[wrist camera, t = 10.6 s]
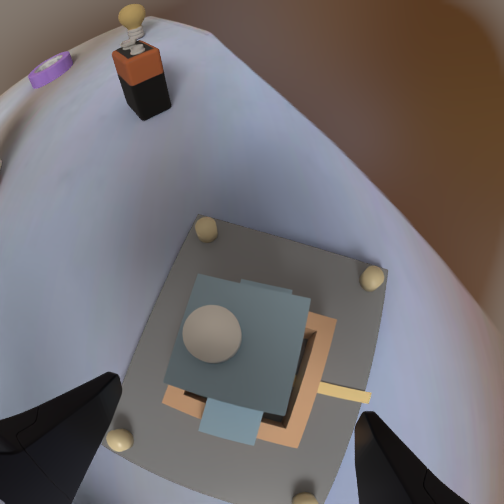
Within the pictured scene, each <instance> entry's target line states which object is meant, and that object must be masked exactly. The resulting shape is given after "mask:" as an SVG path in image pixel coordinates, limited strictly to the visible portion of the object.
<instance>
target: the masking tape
mask: <svg viewBox="0 0 504 504" xmlns="http://www.w3.org/2000/svg"><path fill="white" fill-rule="evenodd" d="M72 65H73V62H72V59H71V56H70V53H69V52H68V51H67V52H62V53H60V54H57V55H55V56H53V57H51V58H49V59H48V60H46V61H44V62H43V63H41V64H40V65H39V66H37V67H36V68H35V69H34V70H33V71H32V72H31V73H30V74H29V75H28V78H29V80H30V82H31V84H32V86H33V88H39V87H42V86H44V85H46V84H48V83H50V82H51V81H53V80H55V79H56V78H58V77H59V76H61V75H62V74H63V73H65V72H66V71H67V70H68V69H69V68H70V67H71V66H72Z"/></svg>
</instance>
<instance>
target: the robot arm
mask: <svg viewBox="0 0 504 504" xmlns="http://www.w3.org/2000/svg"><path fill="white" fill-rule="evenodd" d="M121 395H122V386H121V382H120V377H119V375H118V374H115V373H112V372H106V373H104V374H102V375H100V376H98V377H97V378H95V379H93V380H91V381H89V382H87V383H85V384H83V385H81V386H78V387H76V388H74V389H72V390H70V391H68V392H66V393H64V394H62V395H60V396H58V397H56V398H54V399H52V400H50V401H47V402H45V403H43V404H41V405H39V406H37V407H34V408H32V409H30V410H28V411H25V412H23V413H20V414H18V415H15V416H12V417H9V418H5V419H2V420H0V504H71V503H72V501H73V499H74V497H75V494H76V492H77V490H78V488H79V486H80V484H81V482H82V480H83V478H84V476H85V474H86V472H87V470H88V468H89V465H90V463H91V461H92V459H93V457H94V455H95V454H96V452H97V450H98V448H99V446H100V444H101V442H102V440H103V438H104V436H105V434H106V432H107V430H108V428H109V426H110V424H111V421H112V419H113V416H114V414H115V411H116V408H117V406H118V403H119V400H120V398H121ZM355 469H356V477H357V486H358V496H359V504H469V503H468V502H466V501H465V500H464V499H462V498H461V497H460V496H458V495H457V494H456V493H455V492H453V491H452V490H451V489H449V488H448V487H447V486H446V485H445V484H444V483H442V482H441V481H440V480H439V479H438V478H437V477H436V476H435V475H434V474H433V473H432V472H431V471H430V470H429V469H427V467H426V466H425V465H424V464H423V463H422V462H421V461H420V460H419V459H418V457H417V456H416V455H415V454H414V453H413V452H412V451H411V450H410V449H409V448H408V447H407V446H406V445H405V444H404V443H403V442H402V441H401V440H400V439H399V437H398V436H397V435H396V434H395V433H394V432H393V431H392V430H391V429H390V428H389V427H388V426H387V425H386V424H385V423H384V421H383V420H382V419H381V418H380V417H379V416H378V415H377V414H376V413H375V412H374V411H364V412H363V413H362V414H361V416H360V418H359V420H358V421H357V423H356V425H355Z"/></svg>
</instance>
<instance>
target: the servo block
mask: <svg viewBox="0 0 504 504" xmlns="http://www.w3.org/2000/svg"><path fill="white" fill-rule="evenodd" d="M310 302H311V298H306V297H301V296H296V295H292V290H290V289H286V288H281V287H276V286H272V285H267V284H262V283H258V282H253V281H249V280H244V279H241V282H240V283H237V282H233V281H228V280H224V279H220V278H215V277H211V276H207V275H203V274H199V273H198V275H197V278H196V280H195V283H194V286H193V289H192V292H191V295H190V298H189V301H188V304H187V307H186V310H185V313H184V316H183V319H182V322H181V325H180V329H179V332H178V335H177V338H176V341H175V344H174V347H173V351H172V354H171V357H170V360H169V364H168V367H167V370H166V374H165V377H164V380H163V383H165V384H168V385H171V386H174V387H177V388H180V389H183V390H186V391H189V392H192V393H195V394H198V395H201V396H205V397H208V398H207V401H206V405H205V408H204V412H203V415H202V419H201V423H200V426H199V430H198V431H200V432H203V433H207V434H210V435H213V436H217V437H220V438H224V439H228V440H232V441H236V442H240V443H244V444H248V445H252V446H254V444H255V441H256V437H257V434H258V430H259V426H260V423H261V419H262V416H263V412H267V413H271V414H276V415H281V416H285V414H286V410H287V406H288V402H289V398H290V394H291V390H292V386H293V382H294V378H295V373H296V369H297V365H298V360H299V356H300V351H301V347H302V342H303V337H304V332H305V327H306V322H307V317H308V312H309V307H310Z"/></svg>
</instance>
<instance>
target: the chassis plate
mask: <svg viewBox="0 0 504 504" xmlns="http://www.w3.org/2000/svg"><path fill="white" fill-rule="evenodd" d="M198 273H199V274H203V275H207V276H211V277H215V278H220V279H224V280H228V281H233V282H237V283H240V282H241V279H244V280H249V281H253V282H258V283H262V284H267V285H272V286H276V287H281V288H286V289H290V290H292V295H296V296H301V297H306V298H311V302H310V307H309V312H308V317H307V322H306V327H305V332H304V337H303V342H302V347H301V351H300V356H299V360H298V365H297V369H296V373H295V378H294V382H293V386H292V390H291V394H290V398H289V402H288V406H287V410H286V414H285V416H281V415H276V414H271V413H267V412H263V416H262V419H261V423H260V426H259V430H258V434H257V437H256V441H255V444H254V446H252V445H248V444H244V443H240V442H236V441H232V440H228V439H224V438H220V437H217V436H213V435H210V434H207V433H203V432H200V431H198V430H199V426H200V423H201V419H202V415H203V412H204V408H205V405H206V401H207V398H208V397H205V396H201V395H198V394H195V393H192V392H189V391H186V390H183V389H180V388H177V387H174V386H171V385H168V384H165V383H163V380H164V377H165V374H166V370H167V367H168V364H169V360H170V357H171V354H172V351H173V347H174V344H175V341H176V338H177V335H178V332H179V329H180V325H181V322H182V319H183V316H184V313H185V310H186V307H187V304H188V301H189V298H190V295H191V292H192V289H193V286H194V283H195V280H196V278H197V275H198ZM387 275H388V270H387V269H384V268H380V267H377V266H374V265H371V264H368V263H364V262H361V261H358V260H355V259H351V258H348V257H345V256H342V255H338V254H335V253H332V252H328V251H325V250H322V249H319V248H315V247H312V246H308V245H305V244H302V243H298V242H295V241H292V240H288V239H285V238H281V237H278V236H274V235H271V234H267V233H264V232H260V231H257V230H253V229H250V228H246V227H243V226H239V225H236V224H232V223H229V222H225V221H221V220H218V219H214V218H211V217H207V216H203V215H200V214H198V216H197V218H196V219H195V221H194V223H193V225H192V227H191V229H190V231H189V233H188V235H187V237H186V239H185V241H184V243H183V245H182V247H181V250H180V252H179V254H178V256H177V258H176V260H175V262H174V264H173V266H172V268H171V270H170V273H169V275H168V277H167V279H166V281H165V283H164V286H163V288H162V290H161V292H160V294H159V297H158V299H157V301H156V303H155V306H154V308H153V310H152V312H151V315H150V317H149V319H148V322H147V324H146V326H145V329H144V331H143V333H142V336H141V338H140V341H139V343H138V345H137V348H136V350H135V353H134V355H133V358H132V360H131V363H130V365H129V368H128V371H127V373H126V376H125V378H124V381H123V384H122V395H121V398H120V400H119V403H118V406H117V408H116V411H115V414H114V416H113V419H112V421H111V424H110V426H109V428H108V430H107V432H106V434H105V436H104V438H103V441H102V444H101V445H103V446H104V447H106V448H108V449H109V450H111V451H113V452H114V453H116V454H118V455H119V456H121V457H123V458H125V459H127V460H128V461H130V462H132V463H134V464H136V465H138V466H140V467H142V468H144V469H146V470H148V471H150V472H152V473H154V474H156V475H158V476H160V477H163V478H165V479H167V480H169V481H172V482H174V483H176V484H179V485H181V486H184V487H186V488H189V489H191V490H194V491H197V492H199V493H202V494H205V495H208V496H211V497H214V498H217V499H220V500H223V501H227V502H230V503H233V504H324V502H325V500H326V498H327V496H328V494H329V491H330V489H331V487H332V484H333V482H334V480H335V477H336V475H337V473H338V470H339V468H340V465H341V462H342V460H343V457H344V455H345V452H346V449H347V446H348V444H349V441H350V438H351V435H352V432H353V429H354V426H355V423H356V420H357V417H358V413H359V410H360V407H361V403H367V404H369V400H370V397H371V393H370V392H365V389H366V385H367V381H368V377H369V373H370V369H371V365H372V361H373V356H374V352H375V347H376V343H377V338H378V332H379V327H380V322H381V316H382V310H383V304H384V297H385V290H386V283H387Z"/></svg>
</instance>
